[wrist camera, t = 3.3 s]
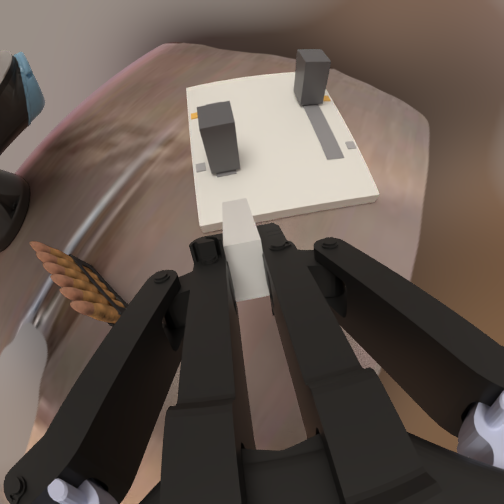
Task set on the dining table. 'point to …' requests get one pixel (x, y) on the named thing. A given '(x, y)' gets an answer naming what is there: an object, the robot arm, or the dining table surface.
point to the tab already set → (311, 76)
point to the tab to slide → (219, 136)
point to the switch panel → (277, 153)
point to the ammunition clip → (81, 284)
